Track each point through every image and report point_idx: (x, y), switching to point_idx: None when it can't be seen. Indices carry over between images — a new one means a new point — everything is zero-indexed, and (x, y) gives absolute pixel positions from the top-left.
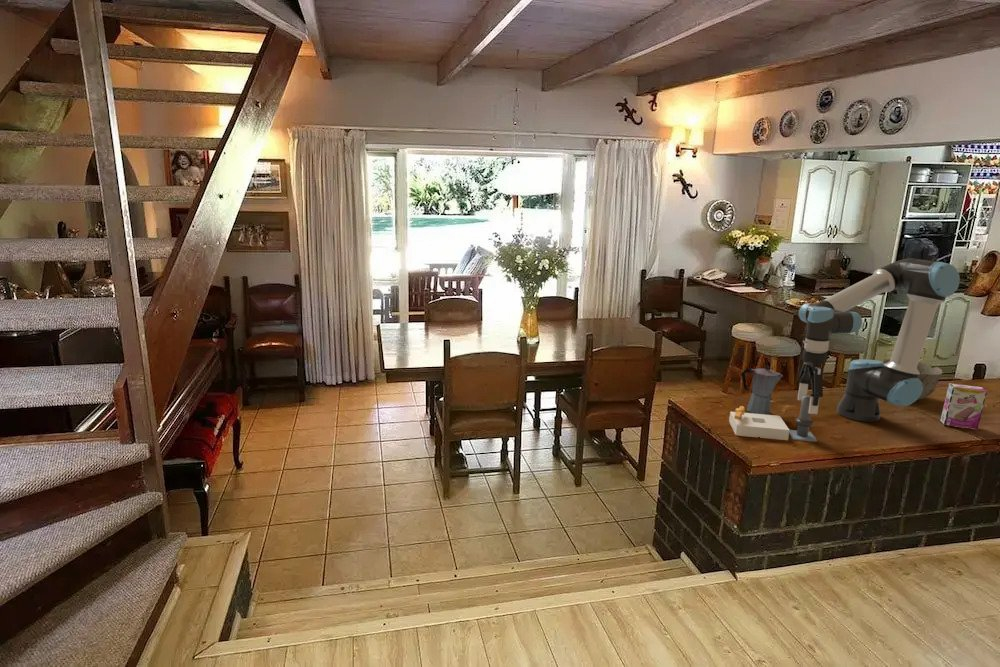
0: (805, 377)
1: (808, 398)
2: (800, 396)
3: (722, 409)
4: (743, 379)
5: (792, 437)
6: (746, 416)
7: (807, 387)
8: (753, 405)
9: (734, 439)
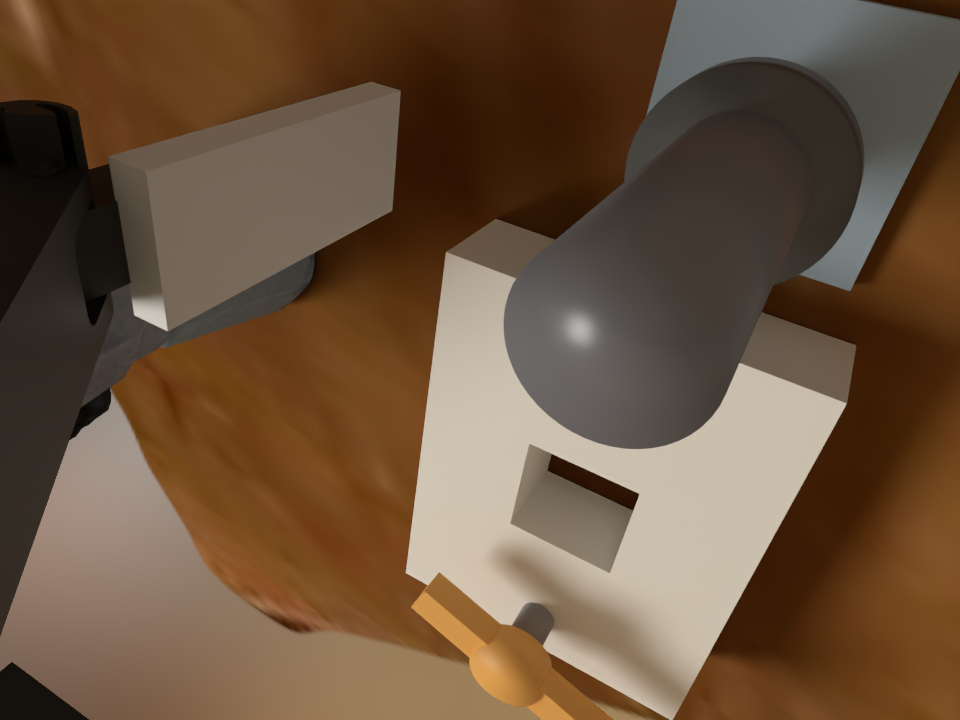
0: (45, 417)
1: (718, 401)
2: (353, 203)
3: (267, 436)
4: None
5: (816, 278)
6: (490, 539)
7: (214, 157)
8: (242, 318)
9: (767, 705)
